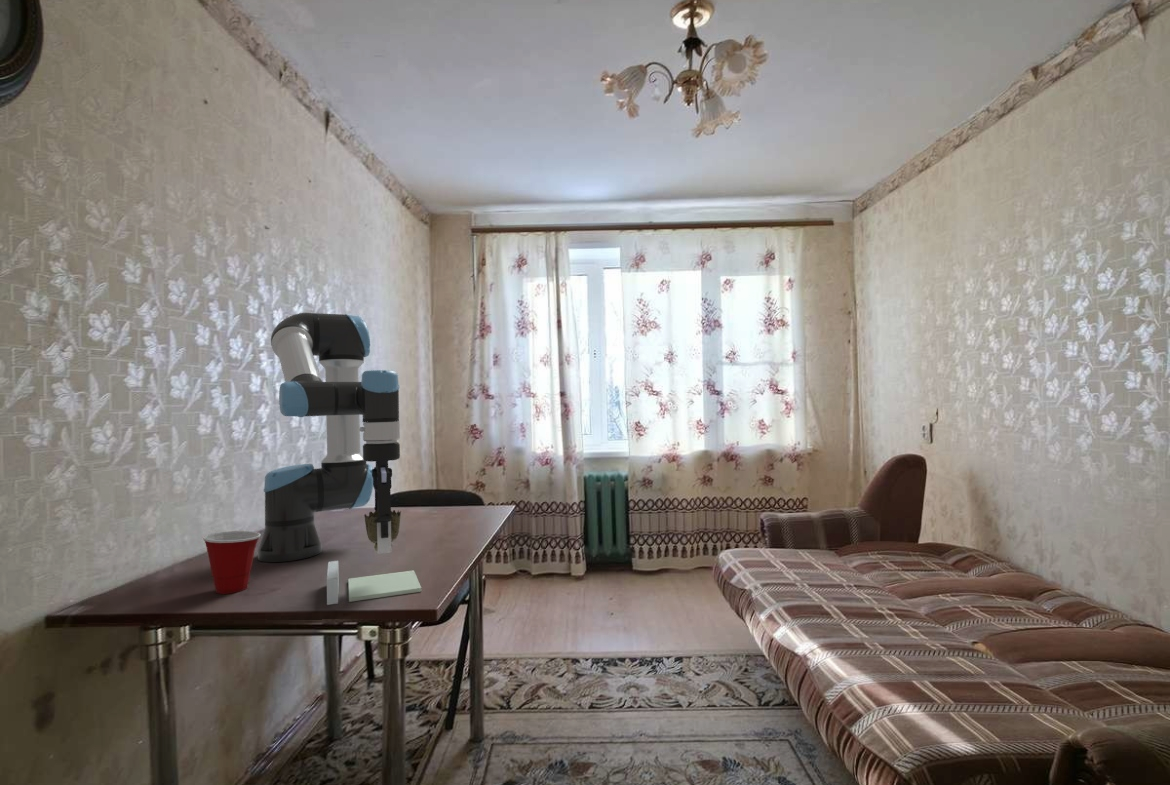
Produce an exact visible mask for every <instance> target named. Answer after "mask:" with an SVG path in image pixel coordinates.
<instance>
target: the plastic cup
mask: <svg viewBox="0 0 1170 785" xmlns="http://www.w3.org/2000/svg"><path fill="white" fill-rule="evenodd" d="M261 537H262V534H261V533H260V532H259V531H257V532H256V531H252V530H251V531H249V530H233V531H229V530H228V531H219V532H213V533H209V534H205V535H203V536H202V538H203V541H204V544H205V547H206V552H207V556H208V560H209V565H210V570H211V577H212V579H213V583H214V589H215V590H216V591H215V592H216V593H217V594H221V595H222V594H223V595H224V594H226V595H227V594H234V593H238V592H241V591H244V590H246V589H247V588H248V586H249V583H250V582H249V580H250V574H251V571H252V567H253V562H254V556H255V549H256V546H257V544H258V540H259V538H261Z"/></svg>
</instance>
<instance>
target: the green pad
mask: <svg viewBox="0 0 1170 785" xmlns="http://www.w3.org/2000/svg"><path fill="white" fill-rule="evenodd" d="M347 581H348V602H349V603H350V602H351V603H352V602H356V601H357V602H358V601H364V600H371V599H372V600H373V599H379V598H386V597H392V596H399V595H407V594H414V593H421V592H422V586H421V584H420V582H419V579H418V576H417V574H416V572H415V570H406V571H399V572H389V573H383V574H381V573H380V574H375V575H367V576H359V577H351V578H348V580H347Z"/></svg>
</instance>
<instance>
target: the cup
mask: <svg viewBox="0 0 1170 785" xmlns="http://www.w3.org/2000/svg"><path fill="white" fill-rule="evenodd" d="M401 512H402V511H401V510H400V511H399V510H397V512H396V510H395V509H393V510H391V516H392V518H391V520H390V521H391V549H392V547H393V542H394V541H395V540H396V539H397V538H398V536H399V532H400V525H401V514H402V513H401ZM382 515H386V514H382ZM376 519H378V511H375V510H374V512H372V511H369V513H368V515H367V514H366V513H364V522H365V530H366V535H367V538H368V540H369V541H370V542H371V543H372V544H374V547H373V548H374V550H375V551H377V552H378V548H377V523H374V520H376Z"/></svg>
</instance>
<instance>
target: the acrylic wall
mask: <svg viewBox="0 0 1170 785" xmlns="http://www.w3.org/2000/svg"><path fill="white" fill-rule="evenodd" d="M326 572H327V574H326V605H327V606H329V605H337V604H339V590H340V589H339V588H340V587H339V578H340V576H339V560H332V561H328V563H327V571H326Z"/></svg>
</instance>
